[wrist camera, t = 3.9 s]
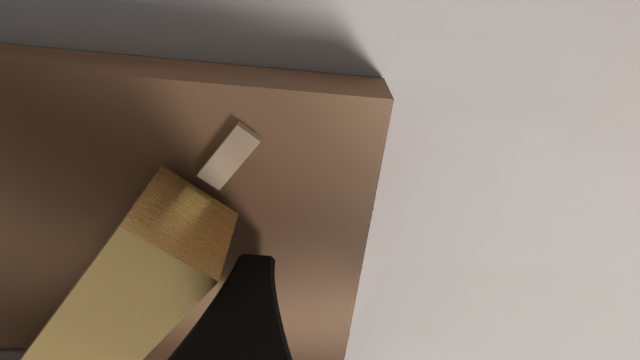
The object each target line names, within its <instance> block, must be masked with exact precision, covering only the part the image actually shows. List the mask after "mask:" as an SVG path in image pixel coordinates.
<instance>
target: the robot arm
mask: <svg viewBox="0 0 640 360" xmlns="http://www.w3.org/2000/svg"><path fill="white" fill-rule="evenodd" d="M167 360H292V356H291V353H290V350H289V347H288V343H287V339H286V336H285V332H284V328H283V323H282V319H281V315H280V310H279V306H278V300H277V293H276V286H275V259H274V258H273V257H272V256H267V255H253V254H242V255H241V256H239V257H238V259H237V261H236V263H235V265H234V267H233V269H232V271H231V272H230V274H229V276H228V277H227V279H226V281H225V282H224V284H223V285H222V287H221V289H220V290H219V292H218V293H217V295H216V296H215V298H214V299H213V301H212V302H211V303H210V305H209V306H208V308H207V309H206V310H205V312H204V313H203V315H202V316H201V318H200V319H199V320H198V322H197V323H196V324H195V326H194V327H193V328H192V329H191V331H190V332H189V333H188V334H187V336H186V337H185V338H184V340H183V341H182V342H181V343H180V345H179V346H178V347H177V348H176V350H175V351H174V352H173V353H172V355H171V356H170V357H169V358H168V359H167Z"/></svg>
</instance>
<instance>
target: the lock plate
mask: <svg viewBox="0 0 640 360" xmlns="http://www.w3.org/2000/svg"><path fill="white" fill-rule="evenodd" d="M393 101H394V99H393V97H392V95H391V93H390V90H389V88H388V86H387V84H386V82H385V80H384V78H376V77H365V76H354V75H343V74H332V73H321V72H310V71H299V70H288V69H277V68H265V67H254V66H243V65H232V64H221V63H210V62H199V61H188V60H177V59H166V58H155V57H144V56H133V55H122V54H111V53H100V52H88V51H77V50H66V49H55V48H44V47H33V46H22V45H11V44H0V360H19V359H20V358H21V356H22V355H23V354H24V352H25V351H26V349H27V348H28V347H29V345H30V344H31V343H32V341H33V340H34V339H35V337H36V336H37V335H38V333H39V332H40V330H41V329H42V328H43V326H44V325H45V324H46V322H47V321H48V320H49V318H50V317H51V315H52V314H53V313H54V311H55V310H56V309H57V307H58V306H59V305H60V303H61V302H62V301H63V299H64V298H65V296H66V295H67V294H68V292H69V291H70V290H71V288H72V287H73V286H74V284H75V283H76V282H77V280H78V279H79V277H80V276H81V275H82V273H83V272H84V271H85V269H86V268H87V267H88V265H89V264H90V262H91V261H92V260H93V258H94V257H95V256H96V254H97V253H98V252H99V250H100V249H101V248H102V246H103V245H104V243H105V242H106V241H107V239H108V238H109V237H110V235H111V234H112V233H113V231H114V230H115V228H116V227H117V226H118V224H119V223H120V222H121V220H122V219H123V218H124V216H125V215H126V214H127V212H128V211H129V209H130V208H131V207H132V205H133V204H134V203H135V201H136V200H137V199H138V197H139V196H140V195H141V193H142V192H143V190H144V189H145V188H146V186H147V185H148V184H149V182H150V181H151V180H152V178H153V177H154V175H155V174H156V173H157V171H158V170H159V169H160V167H161V166H162V165H163V166H164V167H166V168H167V169H169V170H170V171H172V172H174V173H175V174H177V175H178V176H180V177H181V178H183V179H185V180H186V181H188V182H189V183H191V184H193V185H194V186H196V187H197V188H199V189H200V190H202V191H204V192H205V193H207V194H208V195H210V196H211V197H213V198H215V199H216V200H218V201H219V202H221V203H222V204H224V205H226V206H227V207H229V208H230V209H232V210H233V211H235V212H237V213H238V217H237V221H236V224H235V228H234V231H233V234H232V238H231V241H230V245H229V248H228V252H227V255H226V258H225V262H224V265H223V269H222V272H221V275H220V279H219V282H218V283H217V284H216V285H215V286H214V287H213V288H212V289H211V290H210V291H209V292H208V293H207V294H206V295H205V296H204V297H203V298H202V299H201V301H200V302H199V303H198V304H197V305H196V306H195V307H194V308H193V309H192V310H191V311H190V312H189V313H188V314H187V315H186V316H185V317H184V318H183V319H182V320H181V321H180V322H179V323H178V324H177V325H176V326H175V327H174V328H173V329H172V330H171V331H170V332H169V333H168V334H167V335H166V336H165V337H164V338H163V339H162V340H161V342H160V343H159V344H158V345H157V346H156V347H155V348H154V349H153V350H152V351H151V352H150V353H149V354H148V355H147V356H146V357H145V358H144V359H143V360H167V359H168V358H169V357H170V356H171V355H172V353H173V352H174V351H175V350H176V348H177V347H178V346H179V345H180V343H181V342H182V341H183V340H184V338H185V337H186V336H187V334H188V333H189V332H190V331H191V329H192V328H193V327H194V326H195V324H196V323H197V322H198V320H199V319H200V318H201V316H202V315H203V313H204V312H205V310H206V309H207V308H208V306H209V305H210V303H211V302H212V301H213V299H214V298H215V296H216V295H217V293H218V292H219V290H220V289H221V287H222V285H223V284H224V282H225V281H226V279H227V277H228V276H229V274H230V272H231V271H232V269H233V267H234V265H235V263H236V261H237V259H238V257H239V256H241V255H242V254H253V255H267V256H272V257H273V258H274V259H275V286H276V293H277V300H278V306H279V310H280V315H281V319H282V323H283V328H284V332H285V336H286V339H287V343H288V347H289V350H290V353H291V356H292V360H344V358H345V353H346V347H347V342H348V337H349V332H350V326H351V321H352V316H353V311H354V305H355V300H356V295H357V290H358V284H359V279H360V274H361V269H362V263H363V258H364V253H365V248H366V242H367V237H368V232H369V227H370V221H371V216H372V211H373V206H374V200H375V195H376V190H377V185H378V179H379V174H380V169H381V164H382V158H383V153H384V148H385V143H386V137H387V132H388V127H389V122H390V116H391V111H392V106H393Z"/></svg>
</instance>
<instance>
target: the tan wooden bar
mask: <svg viewBox="0 0 640 360" xmlns="http://www.w3.org/2000/svg"><path fill="white" fill-rule="evenodd" d="M237 217H238V213H237V212H235V211H233V210H232V209H230V208H229V207H227V206H226V205H224V204H222V203H221V202H219V201H218V200H216V199H215V198H213V197H211V196H210V195H208V194H207V193H205V192H204V191H202V190H200V189H199V188H197V187H196V186H194V185H193V184H191V183H189V182H188V181H186V180H185V179H183V178H181V177H180V176H178V175H177V174H175V173H174V172H172V171H170V170H169V169H167V168H166V167H164V166H163V165H162V166H161V167H160V169H159V170H158V171H157V173H156V174H155V175H154V177H153V178H152V180H151V181H150V182H149V184H148V185H147V186H146V188H145V189H144V190H143V192H142V193H141V195H140V196H139V197H138V199H137V200H136V201H135V203H134V204H133V205H132V207H131V208H130V209H129V211H128V212H127V214H126V215H125V216H124V218H123V219H122V220H121V222H120V223H119V224H118V226H117V227H116V228H115V230H114V231H113V233H112V234H111V235H110V237H109V238H108V239H107V241H106V242H105V243H104V245H103V246H102V248H101V249H100V250H99V252H98V253H97V254H96V256H95V257H94V258H93V260H92V261H91V262H90V264H89V265H88V267H87V268H86V269H85V271H84V272H83V273H82V275H81V276H80V277H79V279H78V280H77V282H76V283H75V284H74V286H73V287H72V288H71V290H70V291H69V292H68V294H67V295H66V296H65V298H64V299H63V301H62V302H61V303H60V305H59V306H58V307H57V309H56V310H55V311H54V313H53V314H52V315H51V317H50V318H49V320H48V321H47V322H46V324H45V325H44V326H43V328H42V329H41V330H40V332H39V333H38V335H37V336H36V337H35V339H34V340H33V341H32V343H31V344H30V345H29V347H28V348H27V349H26V351H25V352H24V354H23V355H22V356H21V358H20V359H19V360H143V359H144V358H145V357H146V356H147V355H148V354H149V353H150V352H151V351H152V350H153V349H154V348H155V347H156V346H157V345H158V344H159V343H160V342H161V340H162V339H163V338H164V337H165V336H166V335H167V334H168V333H169V332H170V331H171V330H172V329H173V328H174V327H175V326H176V325H177V324H178V323H179V322H180V321H181V320H182V319H183V318H184V317H185V316H186V315H187V314H188V313H189V312H190V311H191V310H192V309H193V308H194V307H195V306H196V305H197V304H198V303H199V302H200V301H201V299H202V298H203V297H204V296H205V295H206V294H207V293H208V292H209V291H210V290H211V289H212V288H213V287H214V286H215V285H216V284H217V283H218V282H219V279H220V275H221V272H222V269H223V265H224V262H225V258H226V255H227V252H228V248H229V245H230V241H231V238H232V234H233V231H234V228H235V224H236V221H237Z"/></svg>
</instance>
